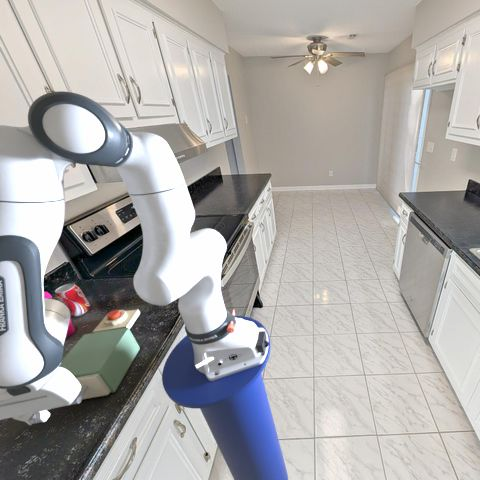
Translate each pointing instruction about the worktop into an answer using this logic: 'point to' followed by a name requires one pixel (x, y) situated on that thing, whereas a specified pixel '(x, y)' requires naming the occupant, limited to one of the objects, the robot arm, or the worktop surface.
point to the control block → (118, 321)
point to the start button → (113, 314)
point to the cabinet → (103, 356)
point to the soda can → (73, 299)
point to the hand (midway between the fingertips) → (40, 420)
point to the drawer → (91, 387)
